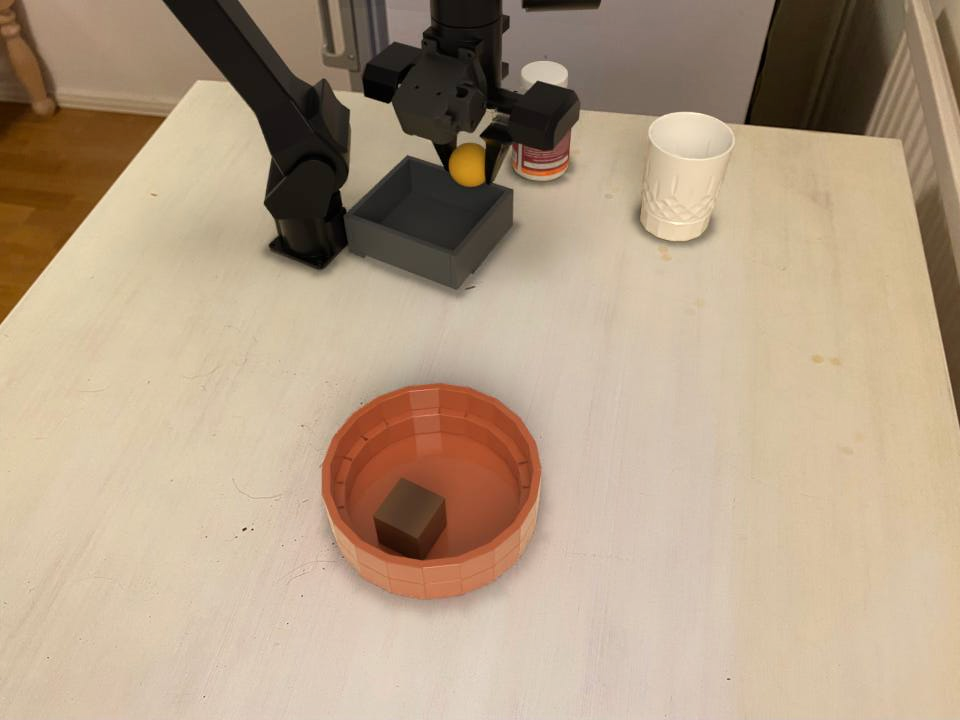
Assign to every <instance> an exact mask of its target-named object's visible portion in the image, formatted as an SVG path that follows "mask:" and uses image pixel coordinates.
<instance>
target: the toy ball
mask: <svg viewBox="0 0 960 720" xmlns="http://www.w3.org/2000/svg"><path fill="white" fill-rule="evenodd" d="M449 171H450V174H451V176H452V177H453V179H454V180H455V181H456V182H457V183H459V184H460V185H462V186H465V187H475V186H478V185H480V184H482V183H483V182H485V147H484V146H483V145H481V144H480V143H475V142H465V143H462V144H460V145H457V148H456V149H455V150H454V151H453V152H452V154H451V156H450V159H449Z"/></svg>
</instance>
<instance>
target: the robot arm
mask: <svg viewBox="0 0 960 720" xmlns="http://www.w3.org/2000/svg"><path fill="white" fill-rule="evenodd" d="M161 1H162V3H164V6H166V7H167V8H168V10H169V11H170V12H171V13H172V15H173V16H174V17H175V18H176V19H177V21H178V22H179V23H180V24H181V26H182V27H183V28H184V30H185V31H186V32H187V33H188V34H189V36H190V37H191V38H192V39H193V40H194V41H195V43H196V44H197V45H198V46H199V47H200V48H201V50H202V51H203V53H204V54H205V55H206V56H207V57H208V58H209V60H210V61H211V62H212V64H213V65H214V66H215V67H216V68H217V69H218V71H219V73H220V74H221V75H222V76H223V77H224V78H225V79H226V81H227V82H228V83H229V85H231V87H232V88H233V89H234V90H235V92H236V93H237V94H238V95H239V97H240V98H241V100H243V102H245V104H246V105H247V106H248V108H249V109H250V110H251V111H252V113H253V114H254V116H255V118H256V120H257V122H258V125H259V129H260V130H261V133H262V135H263V138H264V141H265V144H266V147H267V149H268V153H269V155H270V156H271V158H270V164H269V169H268V175H267V181H266V188H265V192H264V194H265V195H264V200H263V205H264V207H265V208H266V210H267V212H268V213H269V214H270V215H271V217H272V218H273V220H274V225H275V227H276V232H277V236H276V237H275V238H274V239H273V240H271V241H270V243H269V244H268V249H269V251H270V252H273V253H275V254H277V255H279V256H283V257H286V258H288V259H290V260H293V261H296V262H298V263H300V264H303V265H306V266H308V267H311V268H313V269H316V270H324V268H326V266H328V265H329V264H330V263H331V262H332V261H333V260H334V259H335V258H336V257H337V256H338V255H339V254H340V253H341V252H342V251H343V250H344V249H345V248H346V247H348V241H347V235H346V229H345V223H344V217H343V216H344V215H345V214H346V213H347V212H348V211H347V208H346V206H344V204H343V199H342V192H341V190H340V189H342V188H343V187H344V186H345V184H346V183H347V181H348V179H349V176H350V175H349V174H350V162H351V146H352V127H351V122H350V121H351V109H350V108H348V107H347V106H346V105H344V104H343V103H342V102H341V101H340V100H339V99H338V97H337V96H336V95H335V92H334V91H333V88H332V86H331V84H330V82H329V81H328V80H327V79H326V78H325V77H324V78H323V77H322V78H321V79H320V80H319V81H317V82H316V83H314V85H313V84H311V83H308V82H307V81H304V80H303V79H301V78H300V77H297V76H296V75H295V74H294V73H293V72H292V71H291V69H290V68H289V66H288V65H287V64H286V63H285V61H284V60H283V58H282V57H281V56H280V54H279V53H278V52H277V50H276V49H275V48H274V46H273V45H272V43H271V42H270V41H269V39H268V38H267V37H266V35H265V33H263V31H262V30H261V29H260V28H259V26H258V25H257V24H256V22H255V21H254V19H253V18H252V17H251V15H250V14H249V13H248V11H247V10H246V9H245V7H244V6H243V5H242V3H241V2H240V1H239V0H161ZM601 3H602V0H520V4H521V9H523V10H525V13H545V12H565V11H567V12H569V11H590V10H598V9H599V8H600V7H601ZM503 12H504V11H503V0H429V13H430V14H429V15H430V26H429V27H427V28H426V29H425V30H424V31H422V39H421V41H420V45H421V48H420V47H417V46H414V45H410V44H407V43H406V44H405V43H401V42H399V41H392V42H391V43H390V44H389V45H388V46H386V47H385V48H384V49H383V50H381V51H380V52H379V53H377V54H376V55H375V56H374V57H372V58H371V59H369V61H367V62H366V63H365V64H364V65H363V67H362V70H361V74H360V80H361V88H362V94H363V97H364V98H366V99H367V98H368V99H371V100H374V101H378V102H380V103H384V104H387V105H390V104H391V106H392V108H393V110H394V113H395V115H396V119H397V120H398V123H399V126H400V128H401V131H402V132H403V133H404V134H405V135H407V136H411V137H412V136H413V137H414V136H415V137H419V138H422V139H425V140H428V141H431V143H432V144H431V145H433V147H434V150H435V152H436V154H437V156H438V158H439V160H440V163H441V166H443V167H444V169H445V171H447V172H450V171H449V159H450V156H451V154H452V152H453V151H454V150H455V149H456V148H457V147H458V135H459V133H461V132H466V133H468V134H473V133H475V131H476V130H477V128H478V127H479V125H480V123H481V122H482V120H483V118H484V117H485V115H486V113H491V118H492V119H491V122H490V123H489V124H488V125H487V127H485V129H483V130H482V132H480V133H479V138H480V139H481V140H482V141H484V142H485V147H484V148H485V181H486V184H487V185H491V184H492V183H494V182H495V180H496V178H497V176H498V173H499V171H500V169H501V168H502V165H503V163H504V161H505V159H506V157H507V155H508V152H509V150H510V148H511V147H512V145H513V144H514V143H518V144H522V145H525V146H528V147H532V148H535V149H538V150H541V151H549V150H553V149H554V148H555V147H556V146H557V145H558V144H559V142H560V141H561V140H562V139H563V138H564V136H565V135H566V134H567V133H568V132H569V131H570V129H571V130H572V128H573V127H574V126H575V125H576V124H577V122H578V121H580V113H581V100H580V97H579V95H578V94H577V92H576V91H575V90H574V89H571V88H568V87H566V88H564V87H560V86H556V85H553V84H549V83H545V82H542V81H538V80H537V81H536V82H535V83H534V84H533V86H532V87H531V88H530V89H529V90H526V89H522V88H520V87H517V86H511V87H509V88H505V87H502V86H503V85H502V83H503V81H504V80H505V79H506V77H508V76H509V75H510V63H509V62H506V61H503V34H505V33H506V32H507V31H508V30H509V29H510V27H511V16H510V15H507V14H503ZM567 88H568V89H567Z"/></svg>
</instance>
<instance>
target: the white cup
mask: <svg viewBox="0 0 960 720" xmlns="http://www.w3.org/2000/svg"><path fill="white" fill-rule="evenodd" d="M647 129H648V130H647V139H646V147H645V156H644V165H643V174H642V180H641V182H642V183H641V206H640V207H641V210H640V218H639V222H640V223H641V224H642V226H643V227H644V230H645V231H646V232H648V233H649V234H652V235H653V236H654V237H656V238H659V239H662V240H666V241H670V242H689V241H691V240H694V239H696V238H699V237H701V235H702V234H703V233H704V232H705V231H706V230H707V228H708V226H709V222H710V219H711V215H712V212H713V210H714V208H715V205H716V204H717V200H718V197H719V194H720V191H721V188H722V186H723V182H724V180H725V176H726V173H727V170H728V166H729V163H730V161H731V157H732V153H733V150H734V147H735V145H736V136H735V133H734V131H733V130H732V129H731V127H730V126H729V125H728V124H727V123H725V122H724V121H722V120H720V119H718V118H716V117H714V116H712V115H709V114H706V113H701V112H700V113H699V112H695V111H676V112H670V113H666V114H664V115H661V116H659V117H657V118H656V119H654V120H653V121H652V122H651V123H650V125H649V127H648V128H647Z"/></svg>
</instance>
